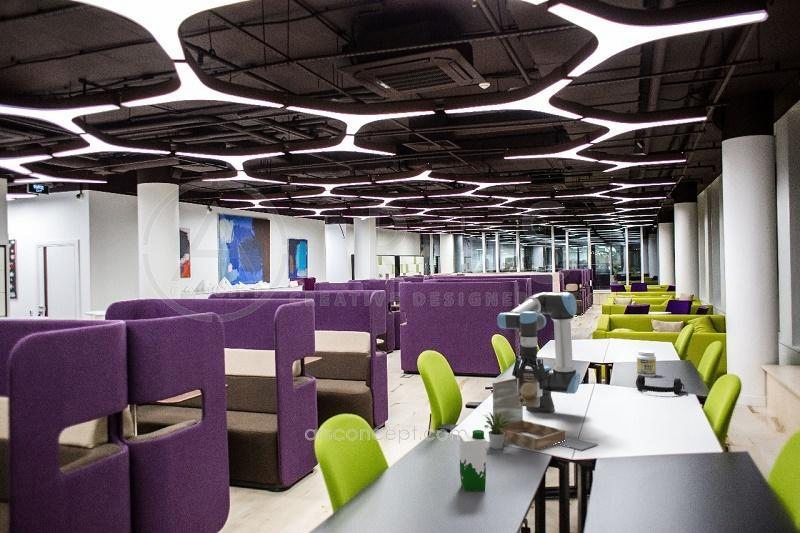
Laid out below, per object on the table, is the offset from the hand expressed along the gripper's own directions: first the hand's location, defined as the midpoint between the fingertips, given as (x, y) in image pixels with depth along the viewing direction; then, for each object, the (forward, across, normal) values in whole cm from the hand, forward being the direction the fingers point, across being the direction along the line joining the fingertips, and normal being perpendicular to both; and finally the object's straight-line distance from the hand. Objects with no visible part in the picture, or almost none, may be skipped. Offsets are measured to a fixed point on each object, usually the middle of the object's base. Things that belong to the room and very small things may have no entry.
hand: (529, 394), depth 263 cm
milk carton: (+20, +23, -62) cm, 69 cm away
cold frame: (+20, 0, -1) cm, 20 cm away
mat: (+20, +19, +8) cm, 29 cm away
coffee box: (+5, 0, 0) cm, 5 cm away
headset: (+23, -9, +139) cm, 141 cm away
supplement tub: (+23, -40, +179) cm, 185 cm away
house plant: (+20, -2, -22) cm, 30 cm away
